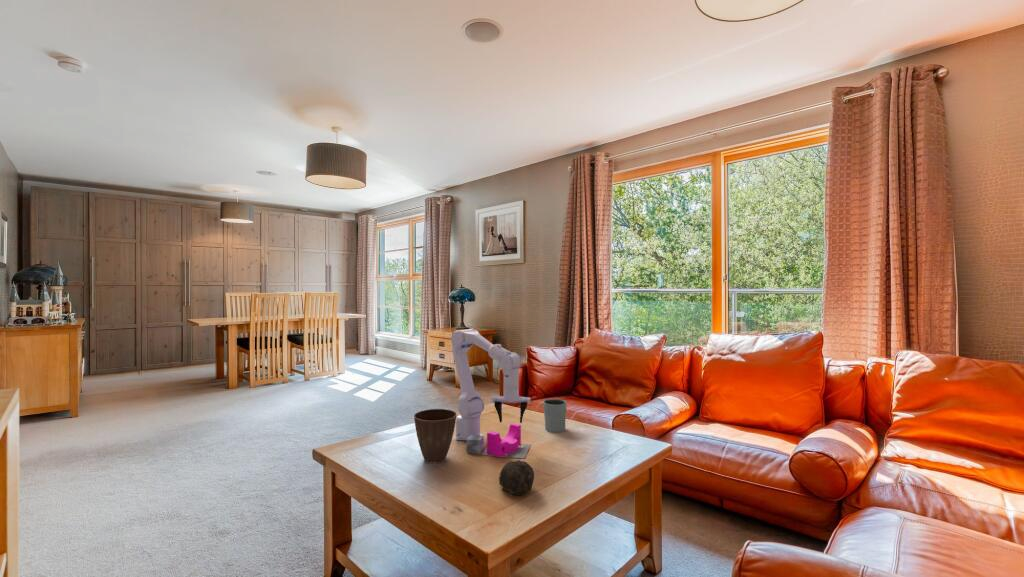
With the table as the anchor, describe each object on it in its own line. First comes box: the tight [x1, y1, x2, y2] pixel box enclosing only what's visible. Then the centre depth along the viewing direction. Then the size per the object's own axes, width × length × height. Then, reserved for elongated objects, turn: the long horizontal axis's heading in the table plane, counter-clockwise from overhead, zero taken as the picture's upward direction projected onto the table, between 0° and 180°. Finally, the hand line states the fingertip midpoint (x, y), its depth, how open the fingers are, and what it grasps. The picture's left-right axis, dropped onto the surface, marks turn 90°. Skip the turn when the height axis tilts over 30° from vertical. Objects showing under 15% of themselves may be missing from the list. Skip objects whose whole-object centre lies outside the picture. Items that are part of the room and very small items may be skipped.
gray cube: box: [466, 435, 484, 455], centre depth 167 cm, size 5×5×5 cm
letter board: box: [480, 443, 532, 460], centre depth 167 cm, size 16×14×1 cm
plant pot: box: [413, 408, 457, 464], centre depth 158 cm, size 15×15×16 cm
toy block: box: [486, 422, 522, 458], centre depth 167 cm, size 15×6×8 cm, turn 139°
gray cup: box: [542, 398, 568, 434], centre depth 192 cm, size 10×10×12 cm
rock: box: [498, 459, 535, 496], centre depth 134 cm, size 10×11×10 cm
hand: (510, 421), depth 168 cm, fingers open, 7 cm apart
